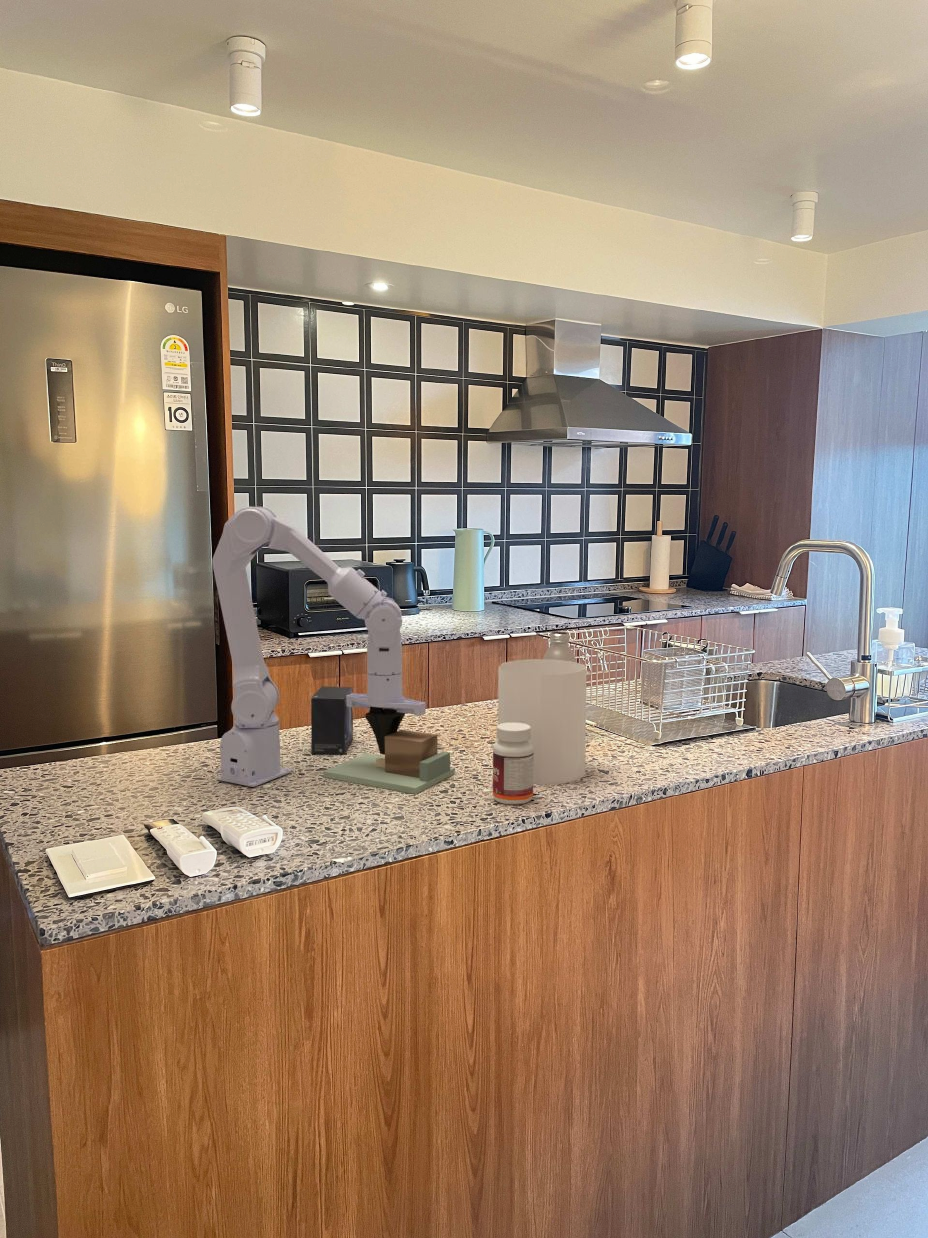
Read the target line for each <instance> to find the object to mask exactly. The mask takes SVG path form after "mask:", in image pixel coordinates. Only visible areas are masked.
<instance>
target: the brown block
mask: <svg viewBox="0 0 928 1238" xmlns="http://www.w3.org/2000/svg"><path fill="white" fill-rule="evenodd" d="M438 753H439V752H438V734H436V733H435V734H434V733H427V732H421V731H420V732H419V731H415V730H414V731H413V730H406V729H399V730H397V732H395V733H392V734H390V735H387V736H385V755H384V756H385V772H387V773H393V774H398V775H404V776H410V777H415V778H420V762H421V761H423V760H425V759H427V758H429V757H432V756H434V755H436V754H438Z"/></svg>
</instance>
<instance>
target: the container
mask: <svg viewBox="0 0 928 1238" xmlns="http://www.w3.org/2000/svg"><path fill="white" fill-rule="evenodd" d="M497 669H498V671H497V678H498V680H497V681H498V682H497V683H498V685H497V686H498V687H497V691H498V692H497V693H498V696H497V697H498V698H497V703H498V705H497V713H498V714H497V715H498V716H497V721H498V722H497V726H498V725H499V724H502V723H524V724H527V725H529V726H530V727H531V738H530V739H529V740H527V741H529V742H530V743H531V744H532V745H533V748H534V763H533V764H534V766H533V785H538V786H543V785H545V786H546V785H563V784H567V783H571V782H575V781H578V780H580V779H581V778H582V777H584V776H585V775H586V741H587V740H586V737H587V736H586V734H587V733H586V732H587V730H586V728H587V675H588V673H587V670H588V668H587V667H586V666H585V664H583V663H580V662H577V661H576V662H572V661H564V660H554V659H543V658H529V659H516V660H510V661H506V662H502V663H501V664H499V665H498V667H497ZM497 741H499V739H497Z"/></svg>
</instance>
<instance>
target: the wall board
mask: <svg viewBox="0 0 928 1238" xmlns="http://www.w3.org/2000/svg"><path fill="white" fill-rule="evenodd" d="M455 769H456V768H455V767H451V752H450V751H449V752H448V751H440V752H438V754H436V755H434V756H432V757H429V758H427V759H425V760H423V761H421V762H420V778H415V777H410V776H404V775H398V774H393V773H387V772H385V755H384V756H383V755H378V754H372V753H368V752H367V753H363V754H361V755H359V756H356V757H353V758H352V759H350V760H346V761H344V762H342V763H340V764H338V765H335V766H332V767H330V768H327V769H326V770H323V775H322V776H323V778H326V779H333V780H336V781H337V780H338V781H343V782H349V783H352V784H353V783H354V784H358V785H363V786H364V785H365V786H369V787H374V788H378V789H379V788H380V789H385V790H390V791H396V792H400V793H405V794H411V795H418V794H419V793H421V792H424V791H426V790H427V789H429V788H431V787H433V786H434V785H436V784H438V783H440V782H442V781H444V780H446V779H448V778H450V777H452V776H454V775H455V774H456V770H455Z"/></svg>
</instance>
